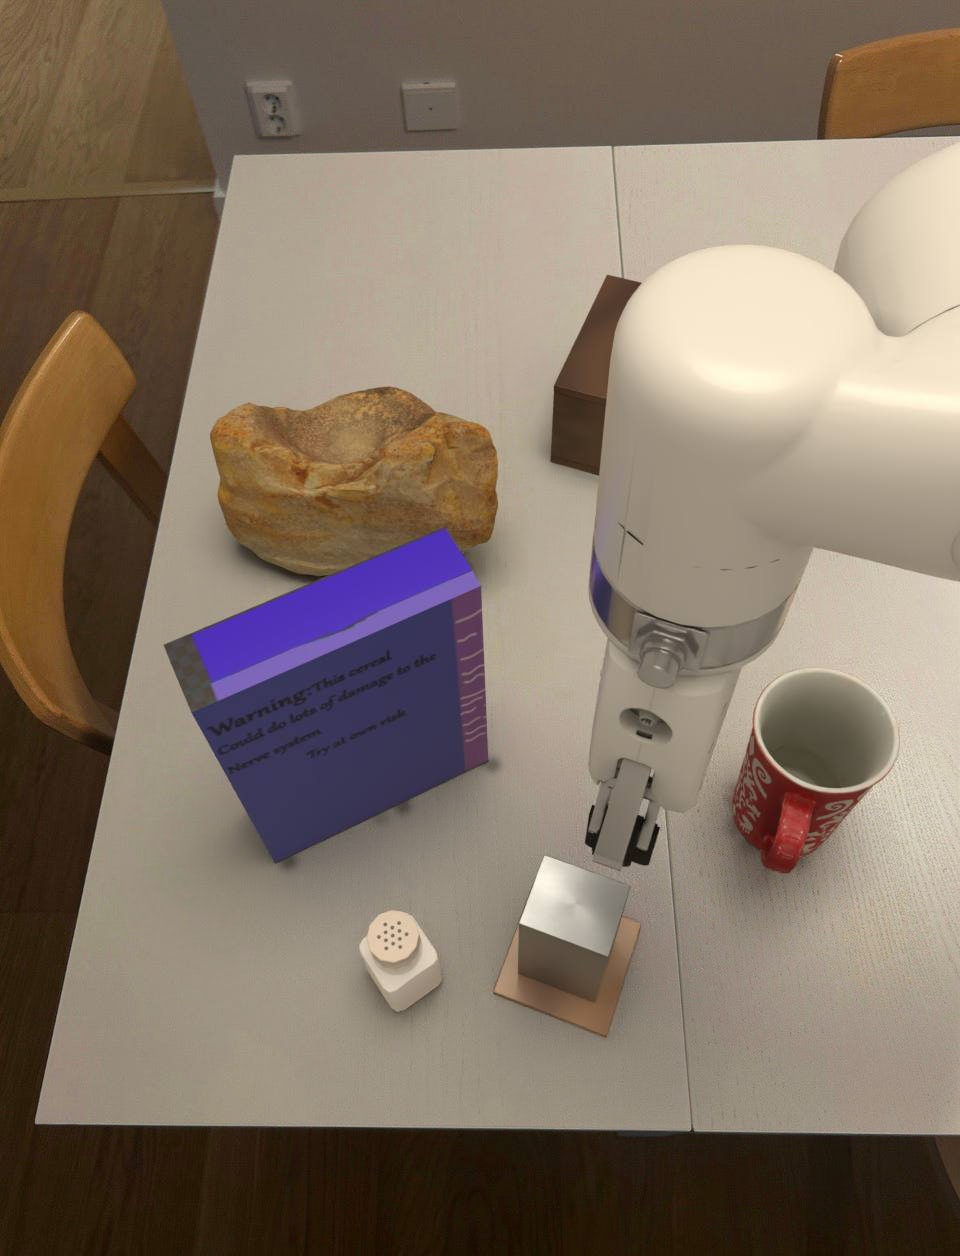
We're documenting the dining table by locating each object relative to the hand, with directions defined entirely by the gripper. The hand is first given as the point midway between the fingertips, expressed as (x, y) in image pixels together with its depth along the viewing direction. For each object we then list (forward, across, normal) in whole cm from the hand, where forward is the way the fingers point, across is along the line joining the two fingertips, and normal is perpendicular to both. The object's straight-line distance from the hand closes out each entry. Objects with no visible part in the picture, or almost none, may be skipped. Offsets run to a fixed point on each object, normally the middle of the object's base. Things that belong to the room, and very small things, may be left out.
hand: (645, 764), depth 54 cm
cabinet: (+24, +45, +9) cm, 52 cm away
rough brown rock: (+25, +27, +30) cm, 47 cm away
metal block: (+24, -4, +2) cm, 24 cm away
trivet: (+24, -4, +2) cm, 25 cm away
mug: (+25, +10, -9) cm, 28 cm away
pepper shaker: (+25, -9, +12) cm, 29 cm away
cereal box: (+25, +3, +20) cm, 32 cm away
